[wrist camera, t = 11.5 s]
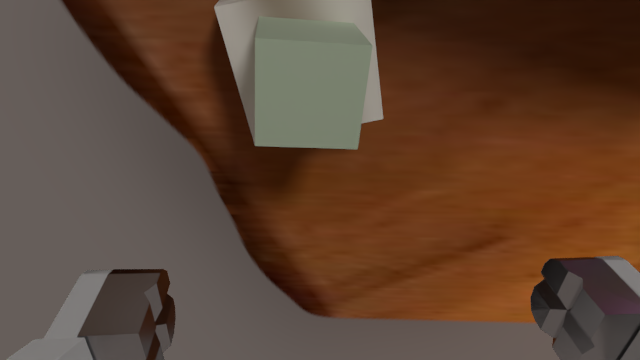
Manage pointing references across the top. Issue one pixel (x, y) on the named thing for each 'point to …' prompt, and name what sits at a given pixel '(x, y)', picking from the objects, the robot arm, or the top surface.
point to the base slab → (295, 3)
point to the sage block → (309, 83)
